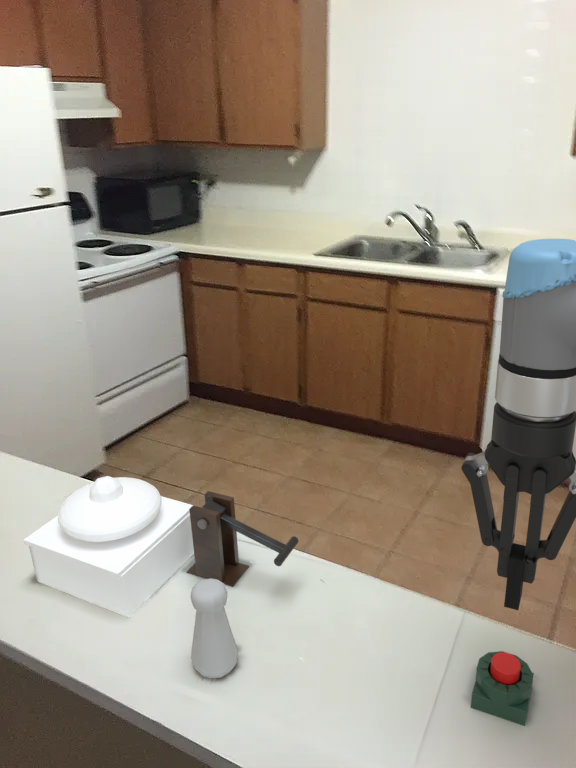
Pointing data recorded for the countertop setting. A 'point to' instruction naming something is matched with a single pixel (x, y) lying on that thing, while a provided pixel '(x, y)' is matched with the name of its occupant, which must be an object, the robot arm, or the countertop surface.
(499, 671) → the button
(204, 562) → the bracket
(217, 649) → the salt shaker
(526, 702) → the button box
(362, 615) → the countertop surface
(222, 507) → the lever
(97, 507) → the white lidded container
